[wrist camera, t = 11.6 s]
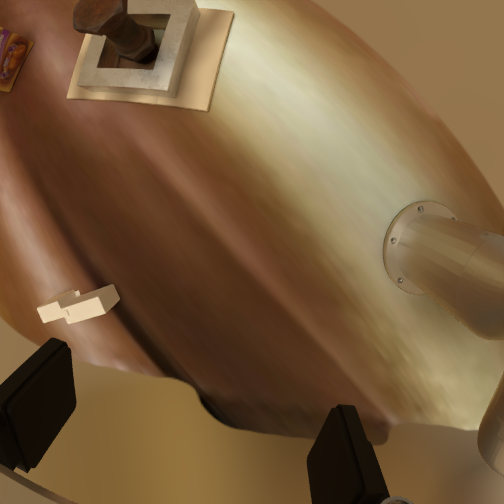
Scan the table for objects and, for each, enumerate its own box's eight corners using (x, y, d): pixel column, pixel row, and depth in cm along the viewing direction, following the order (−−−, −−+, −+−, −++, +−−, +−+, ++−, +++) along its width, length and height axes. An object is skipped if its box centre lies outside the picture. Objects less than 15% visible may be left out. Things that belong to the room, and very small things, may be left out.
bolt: (128, 40, 33) (75, -8, 19) (165, 31, 33) (123, -26, 18) (129, 78, 35) (70, 39, 20) (167, 69, 34) (120, 21, 20)
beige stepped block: (135, 277, 41) (118, 292, 36) (121, 344, 44) (106, 364, 38) (49, 241, 41) (26, 250, 35) (42, 306, 43) (22, 321, 38)
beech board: (234, 14, 32) (233, 11, 31) (208, 112, 36) (206, 110, 35) (98, 11, 32) (95, 9, 31) (70, 99, 35) (66, 98, 34)
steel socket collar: (200, 14, 32) (194, -1, 28) (176, 98, 34) (167, 90, 30) (116, 13, 31) (105, 1, 27) (91, 91, 34) (76, 85, 30)
